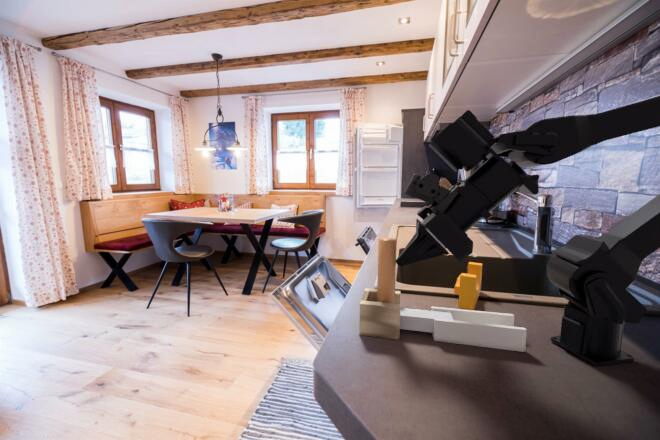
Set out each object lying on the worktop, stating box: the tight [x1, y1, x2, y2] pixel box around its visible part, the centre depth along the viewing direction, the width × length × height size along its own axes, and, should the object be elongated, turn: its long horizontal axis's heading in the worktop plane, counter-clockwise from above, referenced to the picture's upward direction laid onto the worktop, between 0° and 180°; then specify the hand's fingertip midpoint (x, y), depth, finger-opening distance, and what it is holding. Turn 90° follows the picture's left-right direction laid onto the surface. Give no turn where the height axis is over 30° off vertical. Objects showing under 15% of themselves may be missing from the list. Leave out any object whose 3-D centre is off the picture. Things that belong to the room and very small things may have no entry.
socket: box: [358, 287, 401, 341], centre depth 47 cm, size 6×7×5 cm
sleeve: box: [430, 305, 528, 353], centre depth 44 cm, size 12×5×3 cm, turn 76°
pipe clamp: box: [453, 261, 483, 310], centre depth 59 cm, size 12×4×6 cm, turn 147°
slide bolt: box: [376, 237, 453, 334], centre depth 45 cm, size 12×3×14 cm, turn 76°
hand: (397, 263), depth 46 cm, fingers closed
